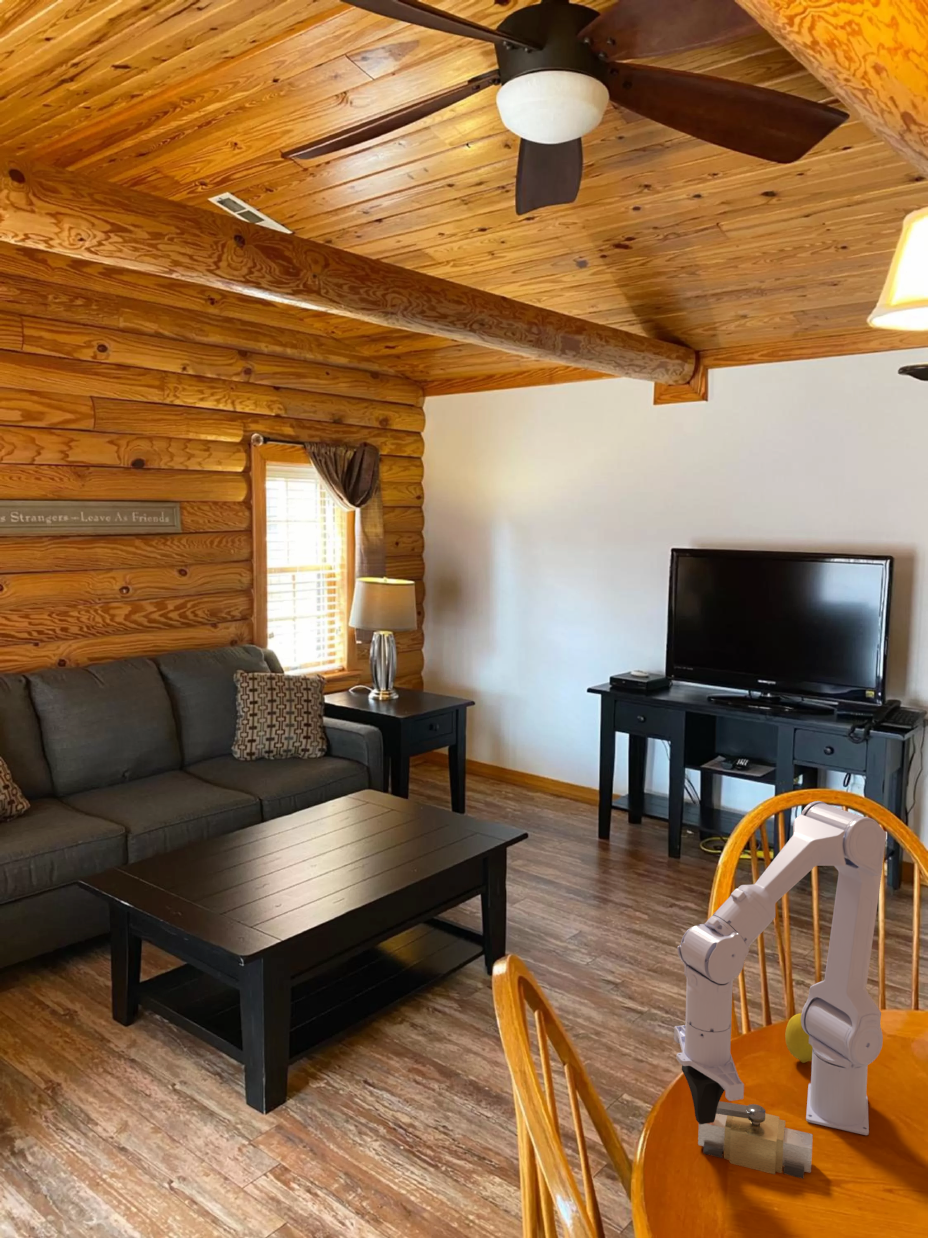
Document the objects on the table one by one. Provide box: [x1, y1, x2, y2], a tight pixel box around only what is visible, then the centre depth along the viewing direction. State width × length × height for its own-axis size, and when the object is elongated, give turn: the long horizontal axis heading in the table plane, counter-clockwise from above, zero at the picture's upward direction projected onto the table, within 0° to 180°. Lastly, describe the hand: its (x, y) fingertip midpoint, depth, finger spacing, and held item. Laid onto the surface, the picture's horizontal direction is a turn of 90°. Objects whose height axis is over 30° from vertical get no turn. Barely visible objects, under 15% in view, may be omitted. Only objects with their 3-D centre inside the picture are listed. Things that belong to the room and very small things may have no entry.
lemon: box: [784, 1012, 813, 1064], centre depth 143 cm, size 6×6×8 cm
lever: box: [716, 1100, 766, 1123], centre depth 122 cm, size 8×2×2 cm, turn 75°
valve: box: [697, 1112, 814, 1179], centre depth 121 cm, size 6×14×5 cm, turn 68°
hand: (705, 1121), depth 121 cm, fingers closed
